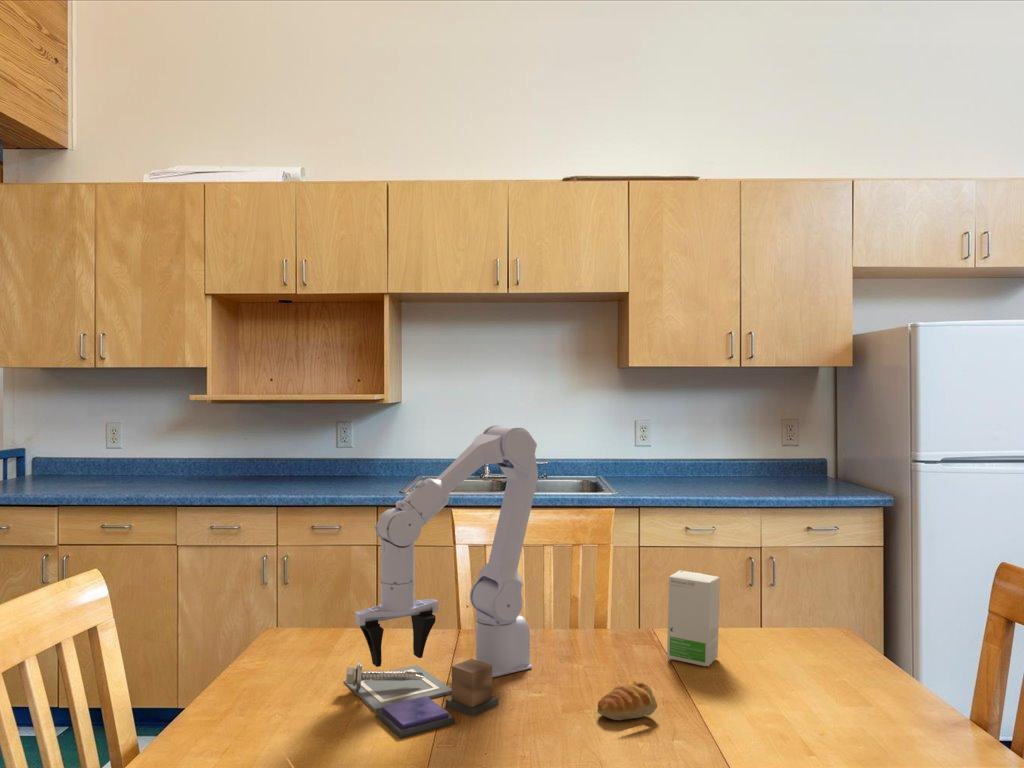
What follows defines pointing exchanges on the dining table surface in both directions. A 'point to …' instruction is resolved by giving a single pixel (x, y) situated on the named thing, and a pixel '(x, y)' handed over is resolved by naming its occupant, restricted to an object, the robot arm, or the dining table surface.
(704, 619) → the skincare box
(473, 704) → the stamp
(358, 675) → the screw
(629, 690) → the pastry
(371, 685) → the marked board
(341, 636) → the dining table surface
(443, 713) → the ink pad
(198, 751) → the dining table surface
